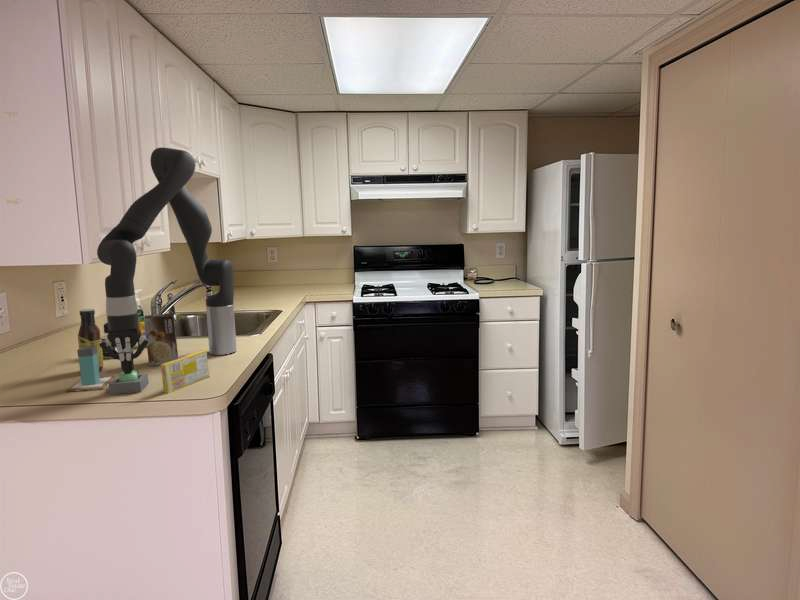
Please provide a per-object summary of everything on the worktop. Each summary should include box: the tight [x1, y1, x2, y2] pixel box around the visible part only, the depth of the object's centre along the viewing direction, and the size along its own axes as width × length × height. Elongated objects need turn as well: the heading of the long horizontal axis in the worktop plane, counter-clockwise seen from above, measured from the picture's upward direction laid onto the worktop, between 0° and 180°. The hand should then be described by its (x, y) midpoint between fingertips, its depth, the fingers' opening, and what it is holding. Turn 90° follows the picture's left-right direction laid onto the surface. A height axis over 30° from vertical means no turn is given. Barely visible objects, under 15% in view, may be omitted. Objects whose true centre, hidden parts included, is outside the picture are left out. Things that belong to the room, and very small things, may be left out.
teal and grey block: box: [77, 346, 101, 385], centre depth 151 cm, size 4×4×10 cm
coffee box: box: [143, 313, 179, 367], centre depth 174 cm, size 9×6×16 cm
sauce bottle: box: [77, 308, 104, 372], centre depth 165 cm, size 6×6×20 cm
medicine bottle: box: [101, 322, 118, 359], centre depth 185 cm, size 7×7×12 cm
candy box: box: [160, 350, 210, 394], centre depth 151 cm, size 16×2×8 cm, turn 159°
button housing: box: [108, 373, 150, 395], centre depth 148 cm, size 8×8×3 cm
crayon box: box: [137, 315, 147, 349], centre depth 199 cm, size 7×3×12 cm, turn 150°
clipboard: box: [65, 375, 117, 392], centre depth 152 cm, size 11×10×1 cm
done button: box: [118, 370, 139, 382], centre depth 147 cm, size 5×5×4 cm
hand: (128, 373), depth 147 cm, fingers closed
